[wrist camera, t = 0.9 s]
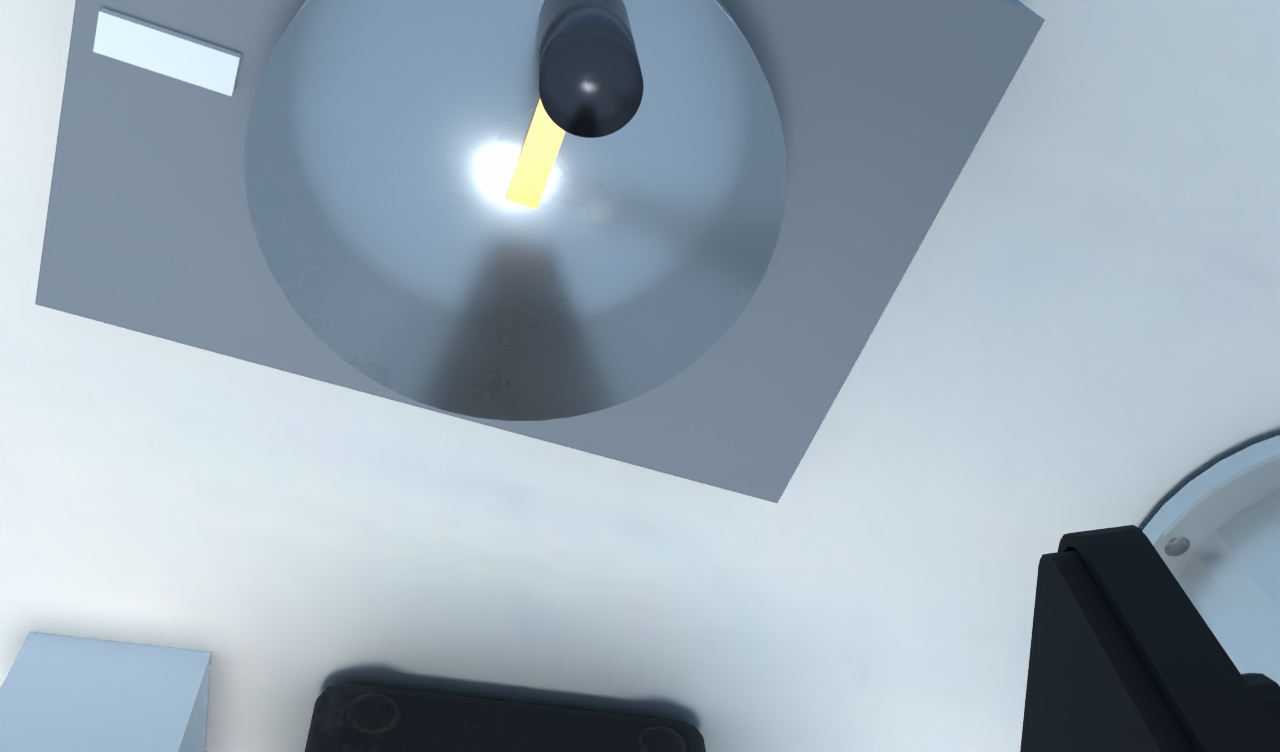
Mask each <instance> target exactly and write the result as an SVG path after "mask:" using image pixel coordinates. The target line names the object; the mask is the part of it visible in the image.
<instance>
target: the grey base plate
mask: <svg viewBox="0 0 1280 752" xmlns="http://www.w3.org/2000/svg"><path fill="white" fill-rule="evenodd" d="M721 1H722V2H723V4H724V5H725V6H726V8H727V9H728V11H729V12H730V14H731V15H732V17H733V18H734V20H735V21H736V23H737V24H738V26H739V27H740V29H741V30H742V32H743V34H744V35H745V37H746V39H747V41H748V43H749V45H750V47H751V48H752V50H753V52H754V54H755V56H756V58H757V60H758V62H759V64H760V66H761V69H762V71H763V73H764V75H765V77H766V79H767V81H768V83H769V85H770V88H771V91H772V94H773V97H774V100H775V104H776V107H777V110H778V113H779V116H780V120H781V125H782V131H783V137H784V143H785V150H786V171H787V189H786V197H785V206H784V215H783V220H782V224H781V228H780V232H779V236H778V240H777V244H776V247H775V250H774V253H773V255H772V258H771V260H770V263H769V265H768V268H767V270H766V272H765V275H764V277H763V279H762V281H761V283H760V284H759V286H758V288H757V290H756V291H755V293H754V295H753V297H752V298H751V300H750V302H749V304H748V305H747V307H746V308H745V309H744V311H743V312H742V313H741V315H740V316H739V317H738V319H737V320H736V321H735V323H734V324H733V325H732V326H731V328H730V329H729V330H728V331H727V332H726V333H725V334H724V335H723V336H722V337H721V338H720V339H719V340H718V342H717V343H716V344H715V345H714V346H713V347H712V348H711V349H710V350H709V351H708V352H706V353H705V354H704V355H703V356H702V357H700V358H699V359H698V360H697V361H695V362H694V363H693V364H692V365H690V366H689V367H688V368H687V369H685V370H684V371H683V372H681V373H679V374H678V375H676V376H675V377H673V378H672V379H670V380H668V381H667V382H665V383H664V384H662V385H660V386H659V387H657V388H655V389H653V390H651V391H649V392H646V393H644V394H642V395H640V396H638V397H636V398H634V399H632V400H629V401H627V402H624V403H621V404H618V405H615V406H612V407H609V408H606V409H604V410H600V411H596V412H592V413H587V414H583V415H578V416H574V417H568V418H560V419H551V420H542V421H504V420H494V419H484V418H476V417H471V416H466V415H462V414H457V413H452V412H448V411H444V410H441V409H438V408H435V407H432V406H429V405H426V404H423V403H420V402H417V401H414V400H412V399H410V398H408V397H405V396H403V395H401V394H399V393H397V392H394V391H392V390H390V389H388V388H386V387H384V386H383V385H381V384H379V383H378V382H376V381H374V380H373V379H371V378H369V377H368V376H366V375H364V374H363V373H361V372H359V371H358V370H357V369H355V368H354V367H353V366H351V365H350V364H349V363H347V362H346V361H345V360H344V359H342V358H341V357H340V356H338V355H337V354H336V353H334V352H333V351H332V350H331V349H330V348H329V347H328V346H327V345H326V344H325V343H324V342H323V341H322V340H321V339H320V338H319V337H318V336H317V335H316V334H315V333H314V332H313V331H312V330H311V329H310V328H309V327H308V326H307V325H306V323H305V322H304V321H303V320H302V318H301V317H300V316H299V315H298V313H297V312H296V311H295V310H294V308H293V307H292V306H291V305H290V303H289V302H288V300H287V298H286V297H285V295H284V294H283V292H282V290H281V289H280V287H279V285H278V284H277V282H276V281H275V279H274V277H273V276H272V273H271V271H270V269H269V267H268V264H267V262H266V260H265V258H264V256H263V253H262V251H261V249H260V247H259V244H258V240H257V237H256V234H255V230H254V227H253V223H252V220H251V217H250V213H249V206H248V199H247V193H246V186H245V149H244V146H245V139H246V132H247V125H248V118H249V112H250V108H251V105H252V102H253V98H254V95H255V92H256V88H257V85H258V82H259V78H260V76H261V74H262V72H263V70H264V68H265V66H266V63H267V61H268V59H269V57H270V55H271V53H272V51H273V49H274V47H275V45H276V43H277V42H278V40H279V39H280V38H281V36H282V35H283V33H284V32H285V30H286V29H287V27H288V26H289V24H290V23H291V21H292V20H293V18H294V17H295V15H296V14H297V12H298V11H299V9H300V8H301V6H302V5H303V3H304V2H305V0H76V3H75V10H74V18H73V25H72V33H71V40H70V48H69V55H68V63H67V70H66V78H65V85H64V93H63V100H62V108H61V115H60V123H59V130H58V138H57V145H56V153H55V160H54V168H53V175H52V183H51V190H50V198H49V205H48V213H47V220H46V228H45V235H44V243H43V250H42V258H41V265H40V273H39V280H38V288H37V295H36V303H35V304H37V305H41V306H44V307H48V308H52V309H55V310H59V311H63V312H67V313H70V314H74V315H78V316H82V317H85V318H89V319H93V320H96V321H100V322H104V323H108V324H111V325H115V326H119V327H123V328H126V329H130V330H134V331H137V332H141V333H145V334H149V335H152V336H156V337H160V338H164V339H167V340H171V341H175V342H178V343H182V344H186V345H190V346H193V347H197V348H201V349H205V350H208V351H212V352H216V353H220V354H223V355H227V356H231V357H234V358H238V359H242V360H246V361H249V362H253V363H257V364H261V365H264V366H268V367H272V368H275V369H279V370H283V371H287V372H290V373H294V374H298V375H302V376H305V377H309V378H313V379H316V380H320V381H324V382H328V383H331V384H335V385H339V386H343V387H346V388H350V389H354V390H357V391H361V392H365V393H369V394H372V395H376V396H380V397H384V398H387V399H391V400H395V401H398V402H402V403H406V404H410V405H413V406H417V407H421V408H425V409H428V410H432V411H436V412H439V413H443V414H447V415H451V416H454V417H458V418H462V419H466V420H469V421H473V422H477V423H480V424H484V425H488V426H492V427H495V428H499V429H503V430H507V431H510V432H514V433H518V434H522V435H525V436H529V437H533V438H536V439H540V440H544V441H548V442H551V443H555V444H559V445H563V446H566V447H570V448H574V449H577V450H581V451H585V452H589V453H592V454H596V455H600V456H604V457H607V458H611V459H615V460H618V461H622V462H626V463H630V464H633V465H637V466H641V467H645V468H648V469H652V470H656V471H659V472H663V473H667V474H671V475H674V476H678V477H682V478H686V479H689V480H693V481H697V482H700V483H704V484H708V485H712V486H715V487H719V488H723V489H727V490H730V491H734V492H738V493H741V494H745V495H749V496H753V497H756V498H760V499H764V500H768V501H771V502H775V503H778V501H779V499H780V497H781V496H782V494H783V492H784V490H785V488H786V486H787V485H788V483H789V481H790V479H791V477H792V476H793V474H794V472H795V470H796V468H797V467H798V465H799V463H800V461H801V459H802V458H803V456H804V454H805V452H806V450H807V449H808V447H809V445H810V443H811V441H812V440H813V438H814V436H815V434H816V432H817V431H818V429H819V427H820V425H821V423H822V421H823V420H824V418H825V416H826V414H827V412H828V411H829V409H830V407H831V405H832V403H833V402H834V400H835V398H836V396H837V394H838V393H839V391H840V389H841V387H842V385H843V384H844V382H845V380H846V378H847V376H848V375H849V373H850V371H851V369H852V367H853V366H854V364H855V362H856V360H857V358H858V356H859V355H860V353H861V351H862V349H863V347H864V346H865V344H866V342H867V340H868V338H869V337H870V335H871V333H872V331H873V329H874V328H875V326H876V324H877V322H878V320H879V319H880V317H881V315H882V313H883V311H884V310H885V308H886V306H887V304H888V302H889V301H890V299H891V297H892V295H893V293H894V291H895V290H896V288H897V286H898V284H899V282H900V281H901V279H902V277H903V275H904V273H905V272H906V270H907V268H908V266H909V264H910V263H911V261H912V259H913V257H914V255H915V254H916V252H917V250H918V248H919V246H920V245H921V243H922V241H923V239H924V237H925V236H926V234H927V232H928V230H929V228H930V226H931V225H932V223H933V221H934V219H935V217H936V216H937V214H938V212H939V210H940V208H941V207H942V205H943V203H944V201H945V199H946V198H947V196H948V194H949V192H950V190H951V189H952V187H953V185H954V183H955V181H956V180H957V178H958V176H959V174H960V172H961V171H962V169H963V167H964V165H965V163H966V161H967V160H968V158H969V156H970V154H971V152H972V151H973V149H974V147H975V145H976V143H977V142H978V140H979V138H980V136H981V134H982V133H983V131H984V129H985V127H986V125H987V124H988V122H989V120H990V118H991V116H992V115H993V113H994V111H995V109H996V107H997V106H998V104H999V102H1000V100H1001V98H1002V96H1003V95H1004V93H1005V91H1006V89H1007V87H1008V86H1009V84H1010V82H1011V80H1012V78H1013V77H1014V75H1015V73H1016V71H1017V69H1018V68H1019V66H1020V64H1021V62H1022V60H1023V59H1024V57H1025V55H1026V53H1027V51H1028V50H1029V48H1030V46H1031V44H1032V42H1033V41H1034V39H1035V37H1036V35H1037V33H1038V31H1039V30H1040V28H1041V26H1042V24H1043V22H1044V21H1045V20H1044V19H1043V18H1041V17H1040V16H1039V15H1037V14H1036V13H1035V12H1033V11H1032V10H1031V9H1029V8H1028V7H1026V6H1025V5H1024V4H1022V3H1021V2H1020V1H1018V0H721Z"/></svg>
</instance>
